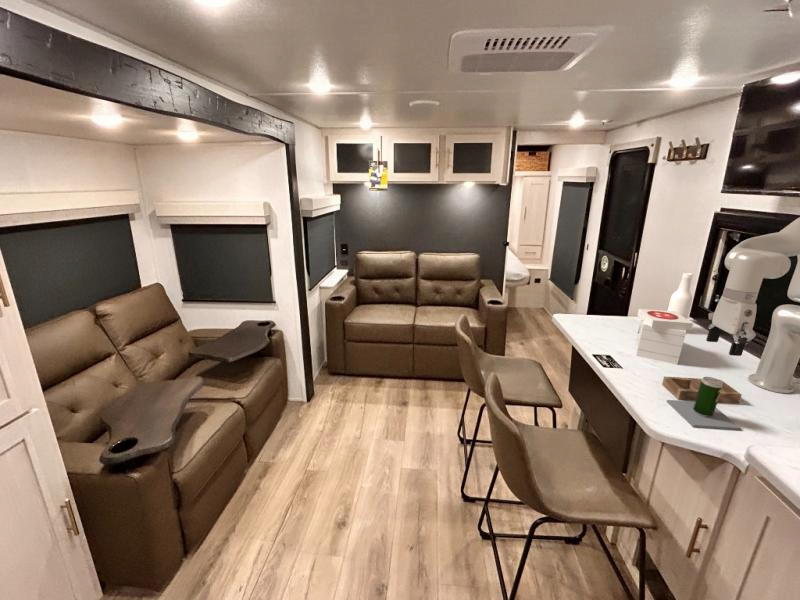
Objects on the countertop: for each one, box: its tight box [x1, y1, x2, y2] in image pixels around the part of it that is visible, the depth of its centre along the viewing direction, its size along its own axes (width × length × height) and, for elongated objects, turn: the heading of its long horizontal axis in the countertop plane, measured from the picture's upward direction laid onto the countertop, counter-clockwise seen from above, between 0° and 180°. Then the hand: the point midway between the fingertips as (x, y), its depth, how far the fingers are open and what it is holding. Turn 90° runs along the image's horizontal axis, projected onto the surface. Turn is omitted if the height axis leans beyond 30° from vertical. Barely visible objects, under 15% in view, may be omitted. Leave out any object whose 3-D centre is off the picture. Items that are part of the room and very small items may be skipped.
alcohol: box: [667, 272, 694, 320], centre depth 190 cm, size 9×9×30 cm
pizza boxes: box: [635, 308, 694, 365], centre depth 169 cm, size 19×30×18 cm, turn 148°
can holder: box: [661, 376, 743, 404], centre depth 135 cm, size 20×10×4 cm, turn 85°
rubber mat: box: [666, 399, 742, 431], centre depth 123 cm, size 14×14×1 cm
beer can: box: [693, 376, 723, 417], centre depth 121 cm, size 5×5×12 cm
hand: (722, 348), depth 116 cm, fingers open, 9 cm apart
